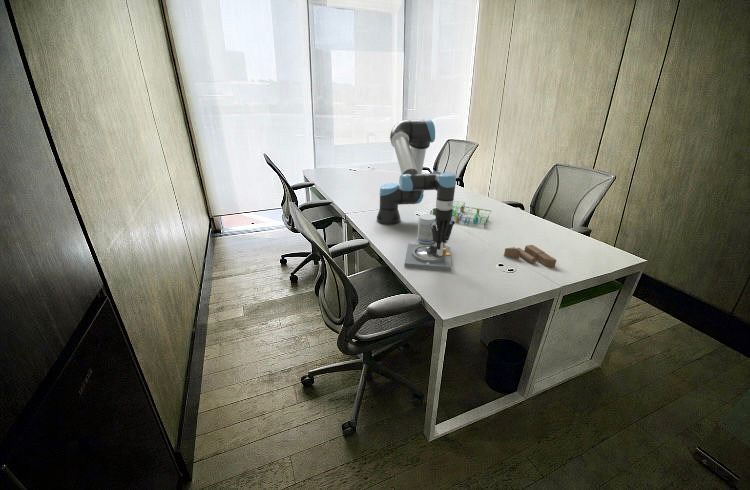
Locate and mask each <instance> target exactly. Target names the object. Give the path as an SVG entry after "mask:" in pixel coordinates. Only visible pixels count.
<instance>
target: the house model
mask: <svg viewBox="0 0 750 490" xmlns="http://www.w3.org/2000/svg"><path fill="white" fill-rule="evenodd" d="M453 204H454V205H453V208H452V217H451V220H453V221H455V223H457V224H460V223H463V225H466V224H467V225H469V224H470V223H471V224H472V226H473V227H475V226H476V224H478V225H479V226H480V227H482V228H485V227H486V225H488V222H489V219H490V214H491V213H492V212H493V211H492V210H489V209H483V208H477V207H470V206H465V205H466V202H463V201H462V202H460V201H458V200H454V201H453ZM436 208H437V207H434V208H432V209H431V210H430V211H429V212H430V213H429V214H432V215H435V212H436ZM465 208H467V209H468V212H467V211H464V210H465ZM473 209H474V210H476V213H473V212H472V210H473ZM480 210H481V211H486V212H490V213H487V216H486V217H485V213H484V212H483V213H482V212H481V215H480ZM472 215H473V216H472ZM453 217H454V218H455V219H454V218H453ZM482 222H483V225H481V224H482ZM480 227H479V228H480Z"/></svg>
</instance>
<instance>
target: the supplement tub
mask: <svg viewBox="0 0 750 490" xmlns="http://www.w3.org/2000/svg"><path fill="white" fill-rule="evenodd" d="M435 219H436V216H435V214H434V215H433V213H431V214H430V213H422V214H420V215H419V216H418V226H417V242H419V243H420V244H421V245H433V244H434V243H435V242H434V241H433V235H432V228H431V226H430V224H433V223H434V222H435Z"/></svg>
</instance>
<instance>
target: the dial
mask: <svg viewBox="0 0 750 490" xmlns="http://www.w3.org/2000/svg"><path fill="white" fill-rule="evenodd" d="M429 245H430V246H427V247H421V248H419V249H418V250H417V253H416V254H417V256H419V257H422V258H426V259H435V258H439V257H440V256H439V255H438V254H437V248H436V245H435V244H429ZM446 250H447V249H446V248H443V255H442V257H446Z"/></svg>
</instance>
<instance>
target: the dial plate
mask: <svg viewBox="0 0 750 490" xmlns="http://www.w3.org/2000/svg"><path fill="white" fill-rule="evenodd" d="M430 245H431V244H422V243H420V244H419V243H418V244H416V243H408V244H407V250H406V253H405V259H404V264H403V265H404V268H412V269H413V268H415V269H424V270H434V271H435V270H436V271H444V272H445V271H447V272H452V256H451V255H452V254H451V246H446V245H445V246H444V248H446V249H447V250H446V257H442V256H440V257H439V258H435V259H426V258H422V257H419V256H417V254H416V253H417V250H418V249H419V248H421V247H427V246H430Z"/></svg>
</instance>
